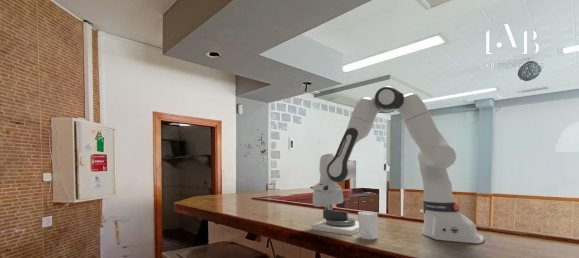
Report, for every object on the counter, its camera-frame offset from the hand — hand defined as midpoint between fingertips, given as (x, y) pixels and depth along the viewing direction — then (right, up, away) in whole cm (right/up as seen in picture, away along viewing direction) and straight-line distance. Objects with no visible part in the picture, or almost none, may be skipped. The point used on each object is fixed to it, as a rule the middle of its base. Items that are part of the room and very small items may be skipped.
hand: (329, 214), depth 140 cm
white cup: (+13, -3, -23) cm, 27 cm away
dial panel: (+5, -5, -6) cm, 9 cm away
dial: (+4, -3, -6) cm, 7 cm away
